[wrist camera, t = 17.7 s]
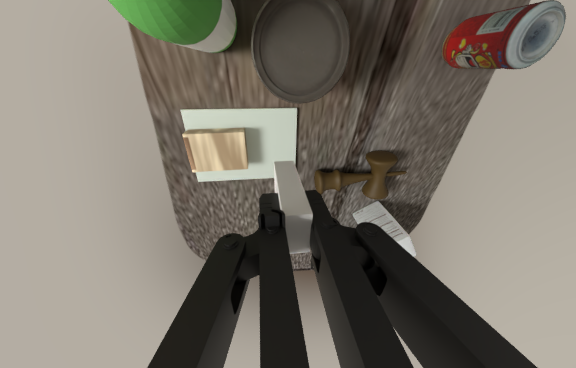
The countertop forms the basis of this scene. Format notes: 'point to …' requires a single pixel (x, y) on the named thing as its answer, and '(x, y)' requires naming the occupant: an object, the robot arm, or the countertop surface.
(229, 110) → the rubber mat
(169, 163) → the countertop surface
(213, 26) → the wine bottle
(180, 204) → the countertop surface
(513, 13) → the soda can
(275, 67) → the coffee can
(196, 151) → the maple slab
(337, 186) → the kendama
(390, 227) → the supplement box
